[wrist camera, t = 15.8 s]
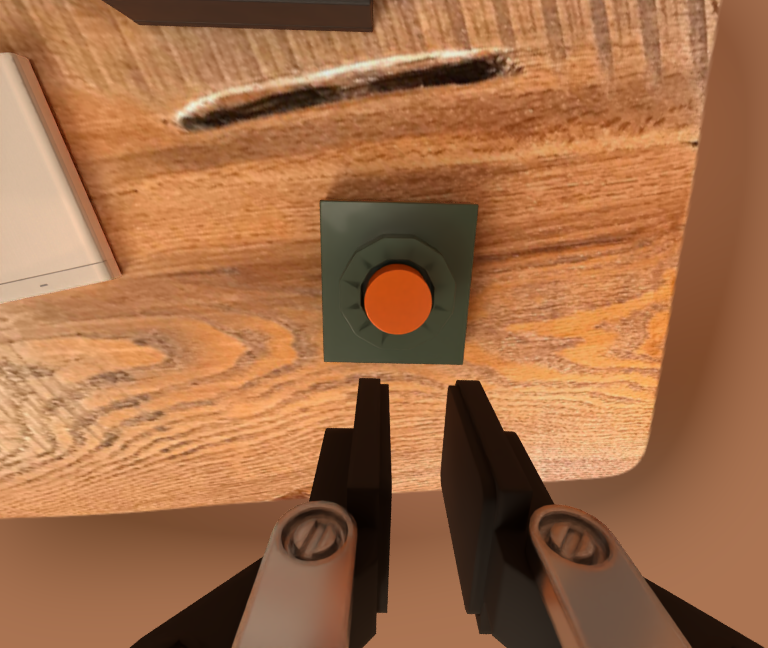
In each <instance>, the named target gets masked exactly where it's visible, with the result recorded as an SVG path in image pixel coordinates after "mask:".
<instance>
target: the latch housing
mask: <svg viewBox="0 0 768 648" xmlns="http://www.w3.org/2000/svg"><path fill="white" fill-rule="evenodd" d="M477 216H478V204H474V203H470V202H434V201H396V200H358V199H323V200H320V233H321V271H322V310H323V348H324V362H355V363H402V364H450V365H462V364H463V358H464V348H465V338H466V328H467V318H468V307H469V297H470V287H471V277H472V267H473V257H474V246H475V236H476V226H477ZM390 264H405V265H409V266H411V267H413V268H415V269H416V270H418V271H419V272H420V273H421V274H422V276H423V277H424V279H425V280H426V283H427V285H428V287H429V289H430V292H431V296H432V307H431V311H430V314H429V316H428V318H427V319H426V321H425V322H424V323H423V324H422V325H421V326H420V327H419V328H417V329H416V330H414V331H412V332H409V333H406V334H390V333H386V332H384V331H382V330H380V329H378V328H377V327H376V326H375V325H374V324H373V323H372V322H371V321H370V319H369V318H368V316H367V314H366V311H365V304H364V300H365V293H366V287H367V284H368V282H369V280H370V278H371V277H372V275H373V274H374V273H375V272H376V271H377V270H379V269H380V268H382V267H384V266H386V265H390Z"/></svg>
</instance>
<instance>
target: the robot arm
mask: <svg viewBox="0 0 768 648" xmlns="http://www.w3.org/2000/svg"><path fill="white" fill-rule="evenodd" d="M441 487H442V492H443V497H444V503H445V508H446V513H447V518H448V523H449V528H450V533H451V538H452V544H453V549H454V554H455V559H456V564H457V569H458V574H459V579H460V584H461V590H462V595H463V600H464V605H465V610H466V612H467V614H475V615H476V620H477V625H478V629H479V633H480V634H492V636H494V637H495V638H496V639H497V640H498V641H500V642H501V643H502V644H503V645H504V646H505V647H507V648H764V647H762V646H761V645H759V644H757V643H756V642H754V641H752V640H750V639H749V638H747V637H745V636H744V635H742V634H740V633H739V632H737V631H735V630H733V629H732V628H730V627H728V626H727V625H724V624H723V623H721V622H720V621H718V620H716V619H714V618H713V617H711V616H709V615H707V614H706V613H704V612H703V611H701V610H699V609H697V608H696V607H694V606H692V605H690V604H689V603H687V602H685V601H684V600H682V599H680V598H679V597H677V596H675V595H673V594H672V593H670V592H668V591H667V590H665V589H663V588H661V587H660V586H658V585H656V584H655V583H653V582H651V581H649V580H648V579H646V578H644V577H643V576H642V575H641V573H640V572H639V570H638V569H637V568H636V566H635V565H634V563H633V562H632V560H631V559H630V557H629V556H628V554H627V553H626V552H625V550H624V549H623V548H622V546H621V544H620V543H619V541H618V540H617V539H616V537H615V536H614V535H613V533H612V532H611V531H610V530H609V529H608V528H607V527H606V525H604V524H603V523H602V522H600V521H599V520H598V519H596V518H595V517H594V516H592V515H590V514H588V513H586V512H584V511H582V510H580V509H577V508H574V507H570V506H566V505H556V504H554V503H553V501H552V499H551V497H550V495H549V493H548V491H547V490H546V488H545V486H544V484H543V482H542V480H541V478H540V476H539V475H538V473H537V471H536V469H535V467H534V465H533V463H532V461H531V460H530V458H529V456H528V454H527V452H526V450H525V448H524V447H523V445H522V443H521V441H520V439H519V437H518V436H517V434H516V433H515V432H512V431H504V430H503V428H502V426H501V424H500V422H499V420H498V418H497V416H496V414H495V412H494V410H493V408H492V406H491V404H490V402H489V400H488V398H487V396H486V394H485V391H484V389H483V387H482V385H481V383H480V382H479V381H473V380H457V381H456V384H455V386H449V387H448V392H447V404H446V415H445V427H444V439H443V450H442V462H441ZM391 498H392V476H391V445H390V413H389V384H380V379H376V378H359V386H358V395H357V404H356V412H355V421H354V428H326V431H325V434H324V439H323V443H322V447H321V452H320V456H319V460H318V465H317V469H316V474H315V478H314V482H313V487H312V491H311V495H310V500H309V502H306V503H303V504H300V505H297V506H295V507H294V508H292V509H290V510H289V511H287V512H286V513H285V514H284V515H283V516H282V517H281V518H280V519H279V520H278V522H277V523H276V525H275V527H274V529H273V531H272V534H271V537H270V540H269V543H268V545H267V548H266V551H265V554H264V556H263V557H262V558H260V559H259V560H257V561H256V562H254V563H253V564H251V565H250V566H248V567H247V568H245V569H244V570H242V571H241V572H239V573H238V574H236V575H235V576H233V577H232V578H230V579H229V580H227V581H226V582H224V583H223V584H221V585H220V586H219V587H217V588H216V589H214V590H213V591H211V592H210V593H208V594H207V595H205V596H203V597H202V598H200V599H199V600H198V601H196V602H195V603H193V604H192V605H190V606H189V607H187V608H186V609H184V610H183V611H181V612H180V613H178V614H177V615H175V616H174V617H172V618H171V619H169V620H168V621H166V622H165V623H163V624H162V625H160V626H159V627H157V628H156V629H154V630H153V631H151V632H150V633H148V634H147V635H145V636H144V637H142V638H141V639H140V640H138V641H137V642H136V643H135V644H134V645H132V646H131V647H130V648H363V647H364V646H365V645H366V644H367V642H368V641H369V640H370V639H371V638H372V637H373V636H374V635H375V634H376V613H387V603H388V577H389V576H388V575H389V550H390V526H391Z"/></svg>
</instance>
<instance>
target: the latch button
mask: <svg viewBox="0 0 768 648" xmlns="http://www.w3.org/2000/svg"><path fill="white" fill-rule="evenodd" d="M364 304H365V311H366V314H367V316H368V318H369V319H370V321H371V322H372V323H373V324H374V325H375V326H376V327H377V328H378V329H380V330H382V331H384V332H386V333H390V334H406V333H409V332H412V331H414V330H416V329H417V328H419V327H420V326H421V325H422V324H423V323H424V322H425V321H426V319H427V318H428V316H429V314H430V311H431V307H432V296H431V292H430V289H429V287H428V285H427V283H426V280H425V279H424V277H423V276H422V274H421V273H420V272H419V271H418V270H416V269H415V268H413V267H411V266H409V265H405V264H390V265H386V266H384V267H382V268H380V269H379V270H377V271H376V272H375V273H374V274H373V275H372V277H371V278H370V280H369V282H368V284H367V287H366V293H365V300H364Z"/></svg>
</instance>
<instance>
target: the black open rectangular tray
mask: <svg viewBox="0 0 768 648" xmlns="http://www.w3.org/2000/svg"><path fill="white" fill-rule="evenodd" d="M102 1H104V2H105V3H107V4H109V5H110V6H112V7H113V8H115V9H116V10H118V11H119V12H121V13H122V14H124V15H125V16H127V17H129V18H130V19H132V20H133V21H134V22H136V23H137V24H139V25H161V26H193V27H225V28H257V29H289V30H321V31H353V32H372V31H373V0H102Z"/></svg>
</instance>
